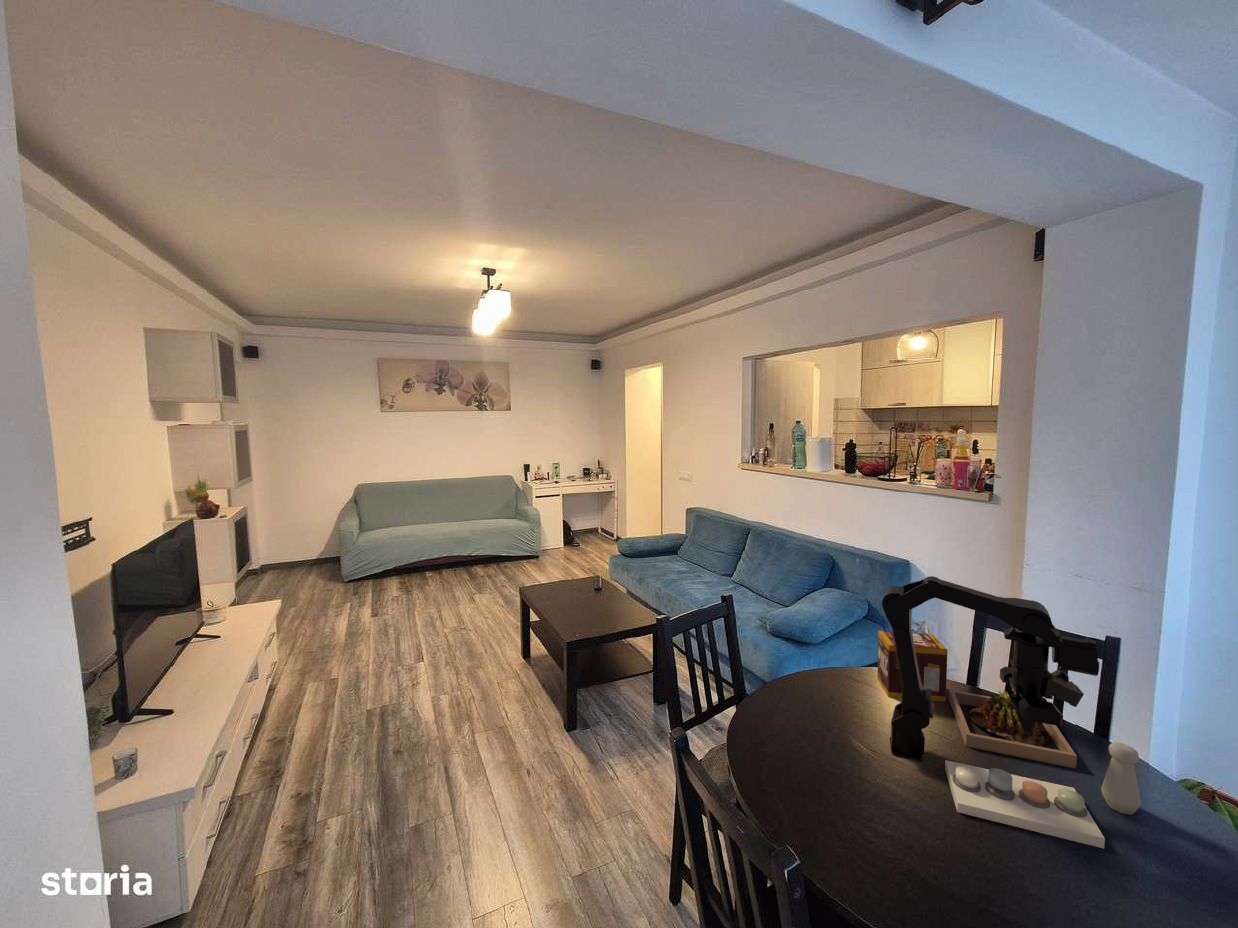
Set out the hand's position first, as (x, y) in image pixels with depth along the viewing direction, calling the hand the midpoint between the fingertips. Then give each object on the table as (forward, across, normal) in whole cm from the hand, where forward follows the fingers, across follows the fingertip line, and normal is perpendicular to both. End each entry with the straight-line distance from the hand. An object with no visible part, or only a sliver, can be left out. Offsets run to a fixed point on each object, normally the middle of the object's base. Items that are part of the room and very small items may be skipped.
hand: (1026, 731), depth 109 cm
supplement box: (+13, +35, +18) cm, 41 cm away
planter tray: (+12, +22, -2) cm, 25 cm away
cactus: (+13, +24, -3) cm, 27 cm away
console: (+12, -7, +3) cm, 15 cm away
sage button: (+10, -7, -6) cm, 13 cm away
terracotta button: (+10, -7, 0) cm, 12 cm away
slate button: (+9, -7, +6) cm, 13 cm away
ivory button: (+10, -7, +12) cm, 17 cm away
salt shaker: (+13, 0, -16) cm, 20 cm away
